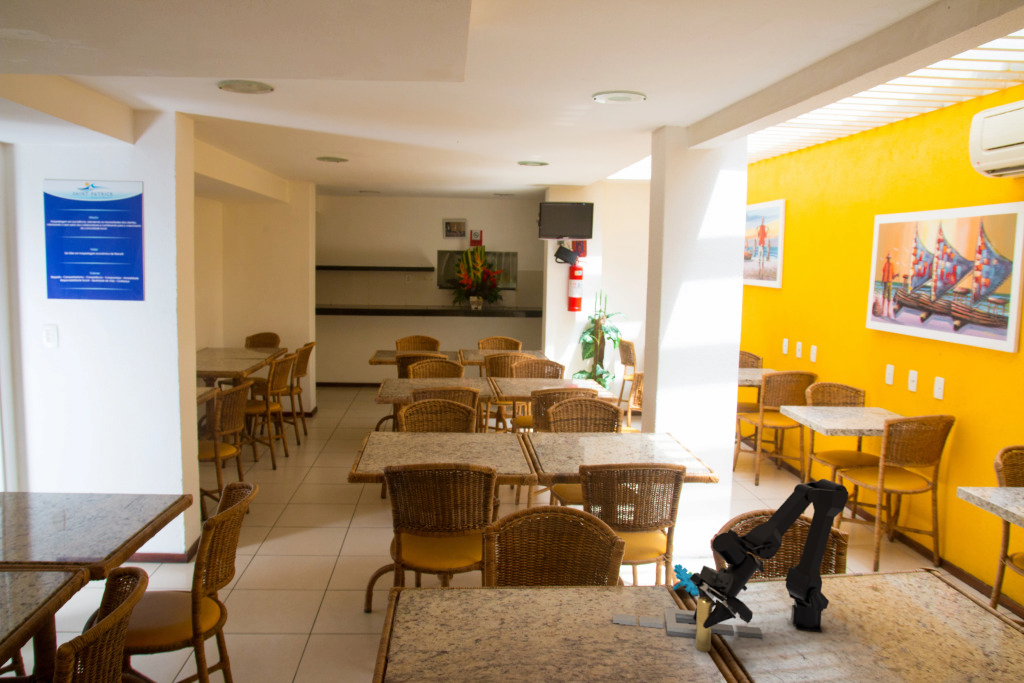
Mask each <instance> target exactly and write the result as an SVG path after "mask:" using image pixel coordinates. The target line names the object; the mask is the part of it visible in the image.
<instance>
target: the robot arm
mask: <svg viewBox="0 0 1024 683" xmlns="http://www.w3.org/2000/svg"><path fill="white" fill-rule="evenodd" d="M848 500H849V491H848V489H847V487H846V486H844V485H843V484H840V483H837V482H834V481H832V480H829V479H826V478H822V479H819V480H817V481H807V482H805V483H798V484H796V485H795V487H794V489H793V491H792V493H791V494H790V495H789V496H788V497H787V498H786V499H785V501H784V502H782V504H781V505H780V506H779V507H778V508H777V510H776V511H775V512H774V513H772V515H771V516H770V517H769V519H768V520H767V521H765V522H763V523H760V524H758V525H756V526H754V527H753V528H752V529H751V530H750V531H748V533H746V534H743V535H739V534H738V533H737V532H736V531H735V530H733V529H728V530H727V532H726V531H725V532H722V533H720V534H718V535H716V536H715V537H714V539H713V540H712V548H713V550H714V551H715V552H716V553H717V554H718V555H719V556H720V557H721V559H722V560H724V562H725V563H726V564H727V565H728V566H727V567H726V568H724V567H721V568H719V570H716V569H714V568H711V567H709V566H707V565H703V566H702V568H701V570H700V572H694V573H692V574H693V575H692V576H691V577H690V580H691V581H692V582H693V583H694V585H695V586H696V587H697V589H698V590H699V591H698V592H699V594H698V595H699V596H698V597H708V598H710V599H712V601H713V602H712V613H711V614H710V615H709V617H708V618H707V620H706V621H705V623H704V625H703V627H704V628H705V629H707V628H709V627H711V626H713V625H716V624H721V623H722V622H725V621H728V620H730V619H736V618H737V616H736V615H737V614H738V616H739V619H740V620H742V621H744V622H745V623H746V624H749V623H750V621H751V620H753V618H754V617H753V614H754V613H753V611H752V610H751V609H750V608H749V607H748V606H747V605H746V603H744V601H742V600H740V599H739V598H737V596H738V595H739V594H740V592H741V591H742V590H743V591H744V592H746V591H747V590H748V587H747V583H748V582H749V581H750V580H751V578H752V577H753V576H754V574H755V573H756V572H757V571H759V572H760V573H762V574H763V573H764V572H765V568H764V561H762V560H771V559H772V558H774V557H775V556H776V554H777V552H778V551H779V550H780V548H781V546H782V542H783V537H784V535H785V534H786V532H787V531H788V530H789V529H790V528H791V527H792V526H793V524H795V522H796V521H797V520H798V519H799V518H800V517H801V515H802V514H803V513H804V512H805V511H806V510H807V508H809V506H810V505H811V504H812V506H813V515H812V517H811V521H810V526H809V529H808V533H807V536H806V539H805V543H804V546H803V550H802V553H801V557H800V560H799V563H798V564H796V565H795V566H794V567H792V566H789V568H788V570H787V575H786V578H785V579H784V581H785V588H786V590H787V592H788V596H789V598H790V599H793V600H794V601H793V604H792V605H791V613H790V614H791V616H790V617H791V618H790V620H791V621H792V623H793V625H794V627H795V629H796V630H798V631H799V630H800V631H810V632H819V631H820V632H823V628H822V625H821V624H822V623H821V622H822V612H824V610H826V609H828V605H829V602H830V600H829V599H828V598H827V597H826V596H825V595H824V594H823V592H822V587H823V581H822V575H821V572H820V568H821V566H822V561H823V558H824V554H825V551H826V547H827V545H828V541H829V537H830V535H831V530H832V527H833V524H834V521H835V518H836V517H837V516H838V515H840V513H841V512H843V511H844V510H845V507H846V504H847V502H848ZM755 556H756V557H755ZM757 557H758V558H757ZM759 558H760V559H759ZM715 598H716V599H715ZM714 599H715V600H714ZM695 608H696V609H695V610H694V611H695V614H694V617H693V619H694V620H695V621H697V607H695Z"/></svg>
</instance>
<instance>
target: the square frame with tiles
mask: <svg viewBox="0 0 1024 683" xmlns="http://www.w3.org/2000/svg"><path fill="white" fill-rule="evenodd" d="M695 611H696V610H687V609H678V608H677V609H675V608H665V626H666V636H671V637H678V638H679V637H680V638H689V639H690V638H691V639H696V621H695V620H694V619H693V617H694V614H695ZM612 614H613V615H612V624H614V623H619V624H618V625H624V624H625V625H626V626H637V615H633V614H623V613H612ZM638 620H639V622H638V623H639V627H644V628H645V627H646V628H656V629H663V628H664V621H663V618H662V617H654V616H645V615H644V616H643V615H639V619H638ZM735 631H736V635H737V637H744V638H745V637H746V638H755V639H763V632H762V629H761V627H756V626H746V625H745V626H744V625H735V629H734V626H733V624H725V623H718V624H716V625H713V626H711V634H714V633H717V634H716V635H725V636H726V635H727V636H735Z"/></svg>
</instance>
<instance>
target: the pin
mask: <svg viewBox="0 0 1024 683" xmlns="http://www.w3.org/2000/svg"><path fill="white" fill-rule="evenodd" d="M712 600H713V599H710V598H708V597H699V596H698V597H697V599H696V601H697V602H696V603H697V604H696V608H697V621H696V624H695V625H696V638H695V646H694V647H695V649H696V650H697V651H699V652H703V653H706V652H707V653H708V652H710V651H711V644H712V643H711V641H712V638H711V637H712V633H711V627H709V628H707V629H705V628H704V627H703V625H704V623H705V621H706V620H707V618H708V617H709V615H710V614H711V613H712V611H713V608H712V602H713V601H714V600H713V601H712Z"/></svg>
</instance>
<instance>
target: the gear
mask: <svg viewBox="0 0 1024 683" xmlns="http://www.w3.org/2000/svg"><path fill="white" fill-rule="evenodd" d="M673 567H674V568H673V572H674V573H675V579H677V580H679V583H676V584H675V586H673V587H672V589H673V591H676V590H678V589H679V588H681V587H684V586H685V588H684V590H685V591H686V592H687V593H689V592H690V594H691V595H692V596H693V597H694V596H697V595H699V590H698V589H697V587H696V586H695V585H694V583H693V582H692V581H691V580H690V577H691V576H692V575H693V574H694V573H693V572H692V571H688V569H687V567H683V565H682V564H675V565H674V566H673ZM687 572H688V573H687Z"/></svg>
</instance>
